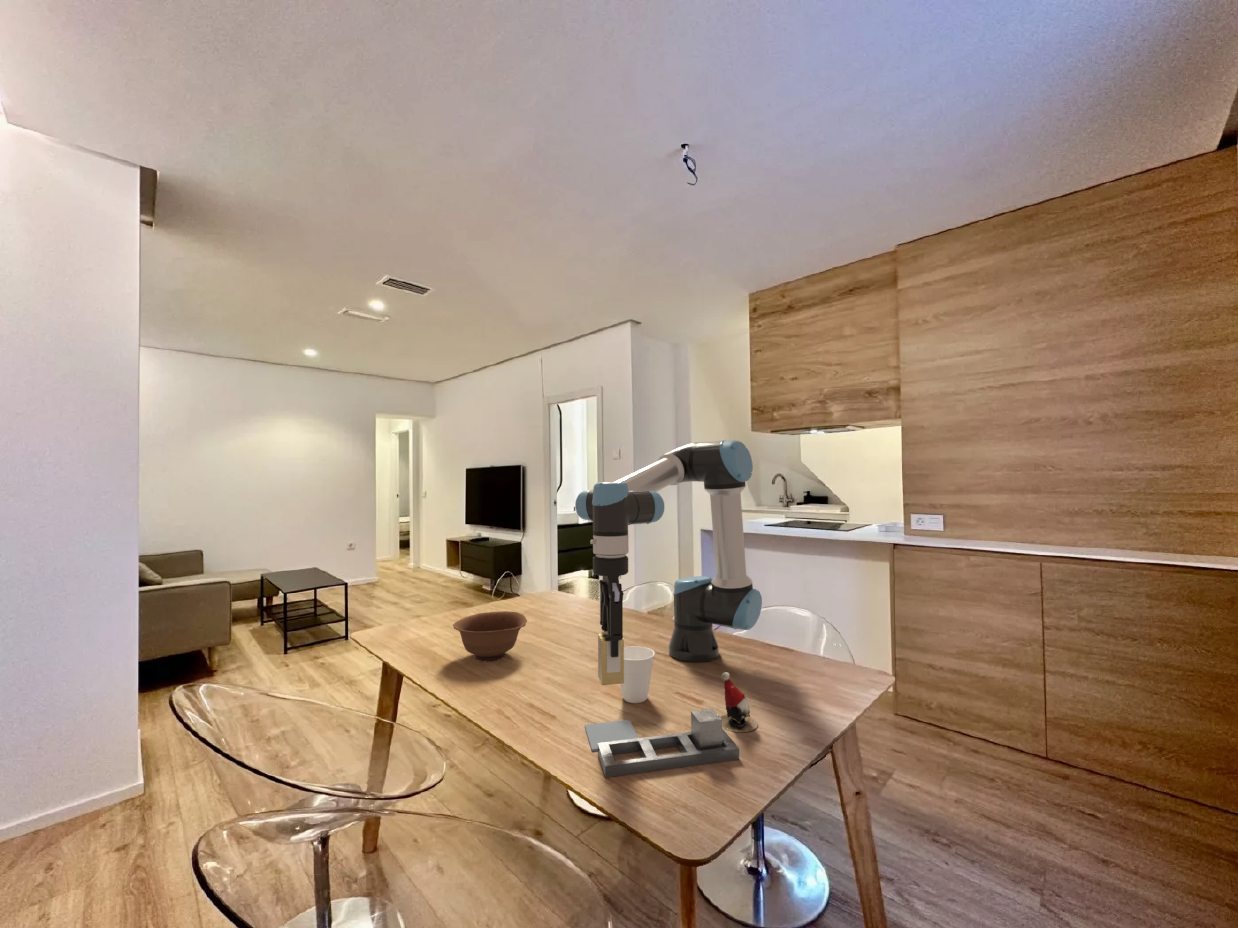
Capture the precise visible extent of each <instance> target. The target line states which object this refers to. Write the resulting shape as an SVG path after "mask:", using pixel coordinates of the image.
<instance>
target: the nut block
mask: <svg viewBox="0 0 1238 928" xmlns="http://www.w3.org/2000/svg"><path fill="white" fill-rule="evenodd" d="M597 636H598V637H597V639H598V640H597V662H598V663H597V669H598V670H597V677H598V679H599V681H600V685H601V686H612V685H621V684H623V683H624V647H625V638H623V639H622V640H620V672H612V673H607V641H605V640H604V638H608V633H605V634H602V633H597Z"/></svg>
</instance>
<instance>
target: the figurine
mask: <svg viewBox="0 0 1238 928" xmlns="http://www.w3.org/2000/svg"><path fill="white" fill-rule="evenodd" d="M721 679H722V680H723V681H724V682H723V683H724V684H723V686H724V701H725V703H724V704H725V710H726V714H722V715H721V716H719V717H720V718H721V719H722V729H723V730H724V729H725V730H727V731H730V732H733V733H740V734H741V733H749V732H752V731H755V729H757V728H758V725H759V724H758V721H757V720H756V719H755V718H753V717H751V715H750V714H751V710H750V702H749V699H748V698H747V696H746V695H745V693H743V692H742V691H741V690H740V689H739V688H738V687H737V686H736V685H735V684H734V682H732V680H731V678H730V673H729V672H726V671H725V672H723V673H722V674H721ZM733 720H734V721H736V722H737V723H738V724H740V723H741V721H742V720H743V721H744V723H743V724H740V725H736V724H735V723H734V722H733Z"/></svg>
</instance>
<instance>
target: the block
mask: <svg viewBox="0 0 1238 928" xmlns="http://www.w3.org/2000/svg"><path fill="white" fill-rule="evenodd" d="M720 717H721V716H720V715H719V714H718V713H717V712H716V711H715V709H713V708H708V709H699V710H691V711H690V721H691V722H690V724H691V725H690V727H691V728H690V730H691V731H690V732H691V742H692V743H693V745H694V746H695V748H696V749H697V751H701V750H709V749H716V748H722V729H723V727H722V719H721V718H720Z"/></svg>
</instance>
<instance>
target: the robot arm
mask: <svg viewBox="0 0 1238 928" xmlns="http://www.w3.org/2000/svg"><path fill="white" fill-rule="evenodd" d="M753 468H754V466H753V459H752V455H751V453H750V451H749V449H748V447H747V446H746V445H745V444H744V443H743V442H742V441H739V440H735V439H734V440H732V439H731V440H730V439H729V440H728V439H724V440H715V441H713V440H712V441H699V442H692V443H691V442H690V443H687V444H685V445H682V446H680V447H677V448H675V449H672V450H671V451H668V452H665V453H664V454H661V456H659V457H658V458H657V461H655V462H654V463H651V464H649V465H647V466H645V467H642V468H641V469H639V470H637V471H635V472H632V473H630V474H629V475H626V476H624V477H621V478H620V479H618V480H615V481H614V482H596V483H595V484H594V485H593V488H592V489H588V490H583V491H581V492H580V493H579V494H578V495H577V497H576V499H575V502H574V503H575V505H574V506H575V507H574V508H575V511H576V513H577V515H578V517H579V518H580V519H582V520H584V521H591V522H592V538H593V539H590V540H589V541H590V542H589V544H590V545H592V552H593V554H594V556H593V557H592V573H593V574H594V575H595V576H599V577H602V579H599V582H598V583H599V606H600V607H599V616H600V617H599V624H600V626H601V634H605V633H608V638H604V640H605V641H607V673H612V672H620V640H622V639H624V635H623V632H624V631H623V629H624V628H623V627H624V626H623V623H624V622H623V618H624V617H623V615H624V614H623V611H624V608H623V605H624V603H623V601H624V591H623V590H622V589H623V587H622V586H623V585H622V583H620V579H619V578H620V577H621V576H625V575H627V574H628V573H629V557H628V556H627V555H628V554H629V551H630V550H629V547H630V546H629V526H630V525H642V524H645V525H646V524H647V525H648V524H651V523H655V522H658V521H659V520H661V518H662V517H663V515H664V513H665V501H664V499H663V497H662V496H661V494H660V493H658V492H659V491H661V490H663V489H665V488H666V487H668V486H677V485H679V484H681V483H686V482H703V486H704V489H703V490H704V491H706V492H707V493H708V494H709V498H710V511H711V512H710V513H711V524H712V526H711V527H712V540H713V552H714V566H715V567H714V568H715V576H714V577H713V579H712V577H711V576H707V575H706V576H705V575H703V576H702V575H698V576H688V577H682V578H679V579H677V580H676V581H675V582H674V585H673V618H674V619H673V620H674V623H673V624H674V626H673V630H672V634H671V637H670V640H669V644H668V654H669V655H670V657H672V658H674V659H676V660H679V661H684V662H688V663H689V662H691V663H704V662H710V661H713V660H715V659H717V658H718V657H719V655H720V654H719V649H720V648H719V645H718V642H717V638H716V636H715V632H714V629H713V625H716V626H721V627H726V628H731V629H734V630H741V631H749V630H751V629H752V628H753V627H755V625H756V624H757V622H758V620H759V618H760V615H761V611H762V608H763V607H762V605H763V596H762V594H761V591H760V590H759V589H756V588H754V587H753V580H752V578H751V577H749V576H748V575H747V567H746V565H747V564H746V562H747V561H746V550H745V538H744V522H743V510H742V509H743V508H742V492H743V490H745V488H746V482H747V481H749V480H750V479H751V478H752V475H753V470H754V469H753Z"/></svg>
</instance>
